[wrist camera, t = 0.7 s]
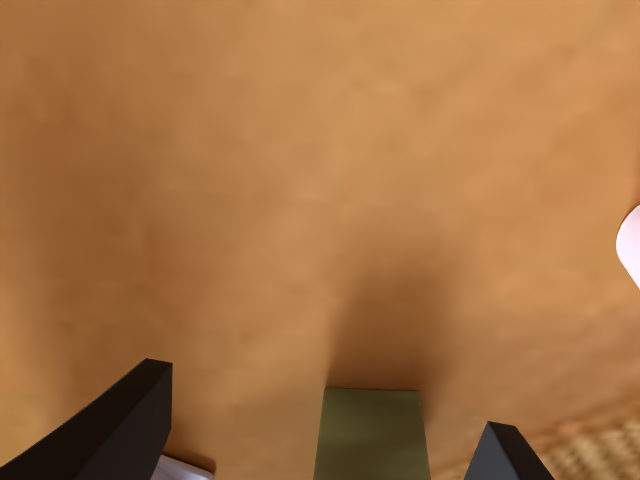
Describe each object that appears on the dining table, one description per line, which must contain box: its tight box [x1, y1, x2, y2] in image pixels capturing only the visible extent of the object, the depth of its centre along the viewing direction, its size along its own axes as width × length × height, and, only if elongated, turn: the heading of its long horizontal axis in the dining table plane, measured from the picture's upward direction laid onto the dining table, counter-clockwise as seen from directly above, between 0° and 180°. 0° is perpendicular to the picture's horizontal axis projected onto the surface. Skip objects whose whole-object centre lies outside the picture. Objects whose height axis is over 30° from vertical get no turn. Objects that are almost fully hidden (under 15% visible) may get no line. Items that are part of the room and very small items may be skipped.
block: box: [313, 388, 431, 480], centre depth 21 cm, size 4×4×6 cm
